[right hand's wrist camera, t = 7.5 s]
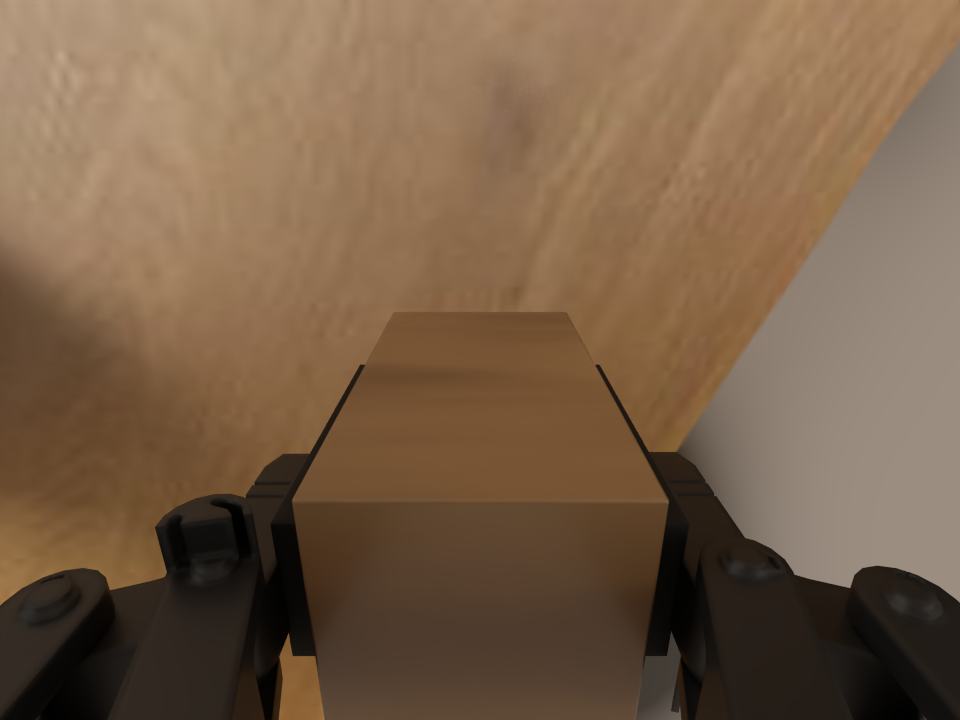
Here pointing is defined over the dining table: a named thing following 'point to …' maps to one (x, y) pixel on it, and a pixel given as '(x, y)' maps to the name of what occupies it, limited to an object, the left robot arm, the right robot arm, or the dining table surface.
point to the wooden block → (480, 529)
